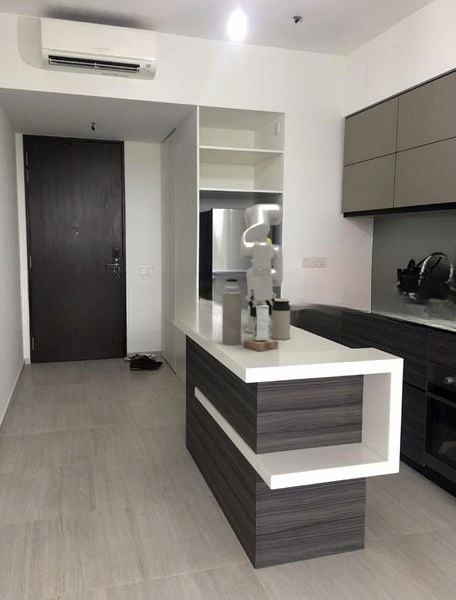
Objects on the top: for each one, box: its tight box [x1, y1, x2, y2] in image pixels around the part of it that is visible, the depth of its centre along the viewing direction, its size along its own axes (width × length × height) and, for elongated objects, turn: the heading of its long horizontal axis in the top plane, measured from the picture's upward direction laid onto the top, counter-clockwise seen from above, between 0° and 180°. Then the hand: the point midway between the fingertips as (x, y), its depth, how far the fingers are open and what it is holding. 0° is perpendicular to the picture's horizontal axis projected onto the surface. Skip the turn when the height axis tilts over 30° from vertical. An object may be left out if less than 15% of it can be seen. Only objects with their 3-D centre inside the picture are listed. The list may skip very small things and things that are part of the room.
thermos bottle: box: [222, 278, 242, 346], centre depth 229 cm, size 8×8×28 cm
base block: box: [242, 338, 279, 353], centre depth 221 cm, size 10×10×3 cm
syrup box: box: [252, 304, 270, 340], centre depth 220 cm, size 6×6×14 cm
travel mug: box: [271, 298, 291, 341], centre depth 242 cm, size 8×8×18 cm
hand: (260, 315), depth 220 cm, fingers closed on syrup box, 7 cm apart
